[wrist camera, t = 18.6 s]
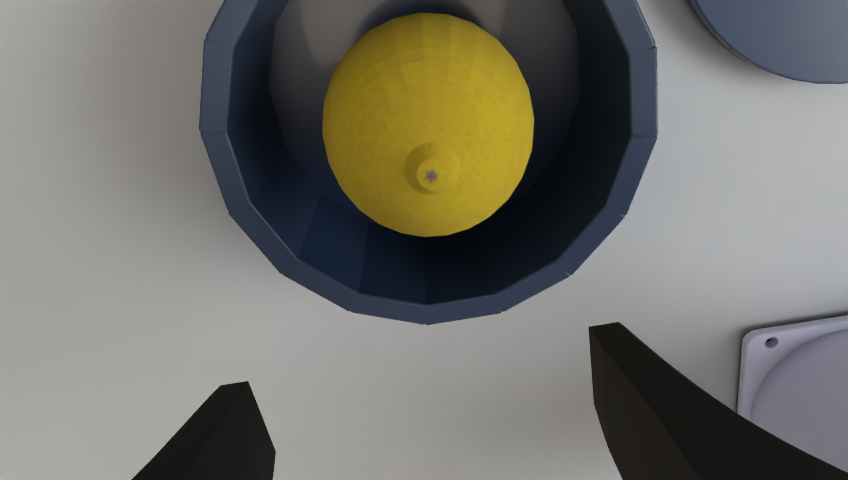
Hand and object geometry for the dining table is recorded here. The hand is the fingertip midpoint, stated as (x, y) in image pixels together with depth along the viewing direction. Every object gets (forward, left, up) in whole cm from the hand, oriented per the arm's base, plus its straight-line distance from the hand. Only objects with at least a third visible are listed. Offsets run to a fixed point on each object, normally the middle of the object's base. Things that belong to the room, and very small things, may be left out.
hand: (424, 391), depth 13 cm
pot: (-1, -4, -10) cm, 11 cm away
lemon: (-1, -4, -10) cm, 11 cm away
